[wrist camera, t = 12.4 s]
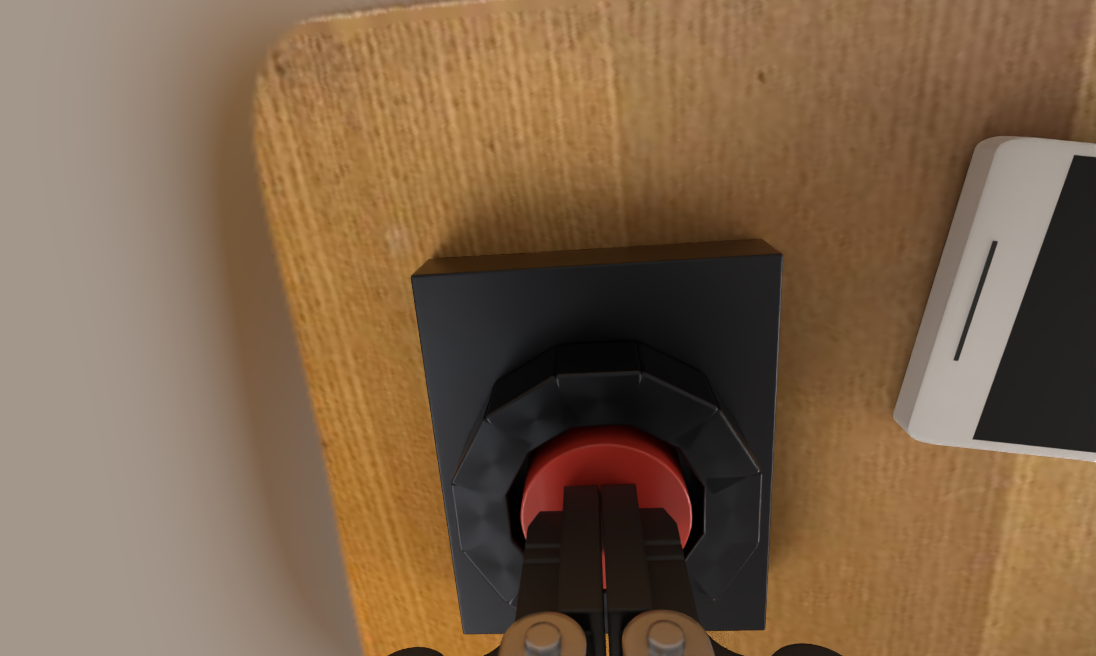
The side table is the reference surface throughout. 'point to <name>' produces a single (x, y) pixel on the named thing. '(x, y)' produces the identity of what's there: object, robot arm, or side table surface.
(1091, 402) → the smartphone
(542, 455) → the button
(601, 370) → the button box
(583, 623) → the robot arm
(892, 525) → the side table surface
